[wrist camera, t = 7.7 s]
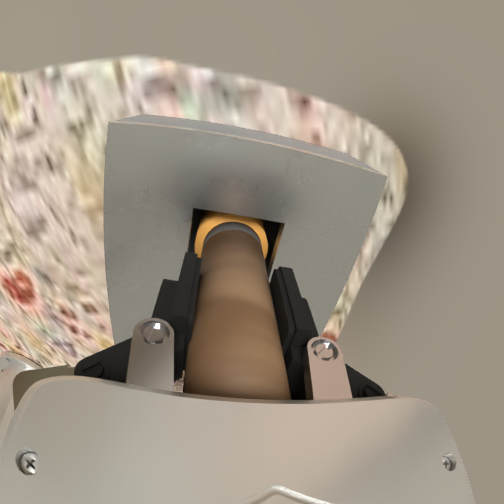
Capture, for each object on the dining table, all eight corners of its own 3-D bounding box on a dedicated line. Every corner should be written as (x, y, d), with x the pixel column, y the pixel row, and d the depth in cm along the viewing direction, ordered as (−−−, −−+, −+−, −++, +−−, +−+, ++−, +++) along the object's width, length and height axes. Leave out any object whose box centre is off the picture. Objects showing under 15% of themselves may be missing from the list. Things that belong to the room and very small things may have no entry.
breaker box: (286, 325, 26) (298, 378, 21) (134, 305, 24) (116, 356, 19) (346, 153, 19) (388, 177, 13) (144, 114, 16) (107, 122, 11)
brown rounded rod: (230, 282, 17) (236, 497, 7) (190, 246, 16) (151, 477, 5) (273, 250, 16) (327, 474, 6) (234, 209, 15) (248, 457, 4)
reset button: (253, 249, 21) (258, 282, 17) (197, 241, 20) (190, 273, 16) (267, 196, 19) (275, 221, 15) (205, 186, 18) (199, 208, 15)
